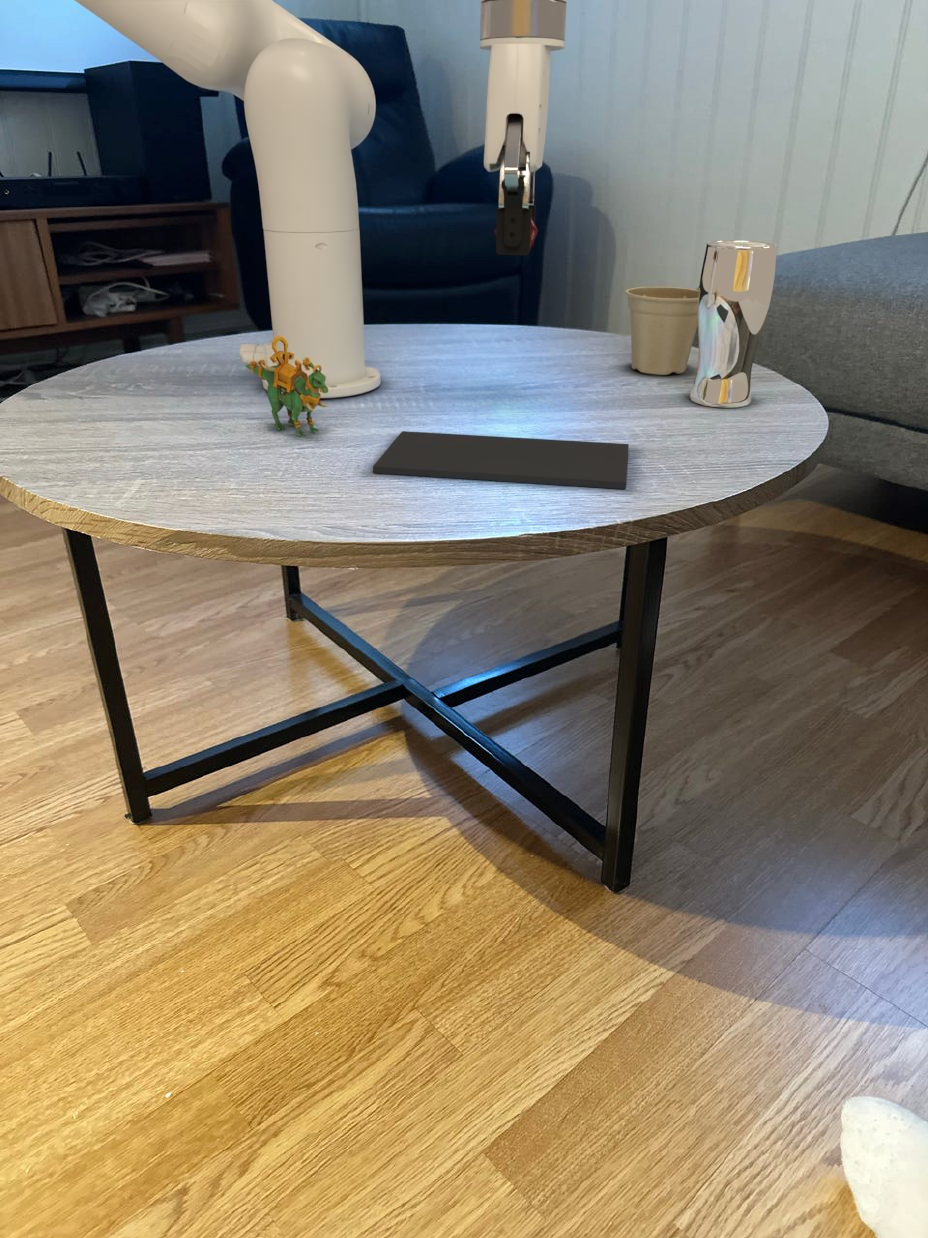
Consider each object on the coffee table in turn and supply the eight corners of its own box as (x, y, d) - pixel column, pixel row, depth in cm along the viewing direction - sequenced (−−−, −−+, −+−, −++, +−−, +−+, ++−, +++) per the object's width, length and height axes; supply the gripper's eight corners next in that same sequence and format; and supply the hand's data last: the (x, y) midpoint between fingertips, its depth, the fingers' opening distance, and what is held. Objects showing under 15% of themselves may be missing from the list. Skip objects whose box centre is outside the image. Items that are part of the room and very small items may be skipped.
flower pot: (689, 361, 110) (698, 285, 106) (710, 379, 101) (720, 298, 97) (612, 361, 109) (618, 285, 105) (626, 379, 101) (634, 298, 97)
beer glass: (757, 411, 89) (783, 248, 82) (685, 407, 91) (705, 245, 84) (752, 394, 95) (776, 240, 88) (685, 390, 97) (703, 238, 90)
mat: (372, 473, 72) (372, 465, 72) (402, 437, 81) (402, 430, 81) (625, 489, 69) (626, 481, 69) (628, 450, 78) (628, 443, 78)
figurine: (316, 444, 79) (309, 348, 75) (237, 418, 86) (227, 329, 82) (343, 437, 81) (338, 343, 77) (264, 412, 88) (255, 325, 84)
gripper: (491, 38, 88) (487, 242, 96) (467, 18, 73) (465, 260, 81) (569, 38, 87) (558, 244, 95) (560, 17, 72) (548, 263, 80)
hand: (515, 249), depth 88 cm, fingers closed on dice, 4 cm apart
